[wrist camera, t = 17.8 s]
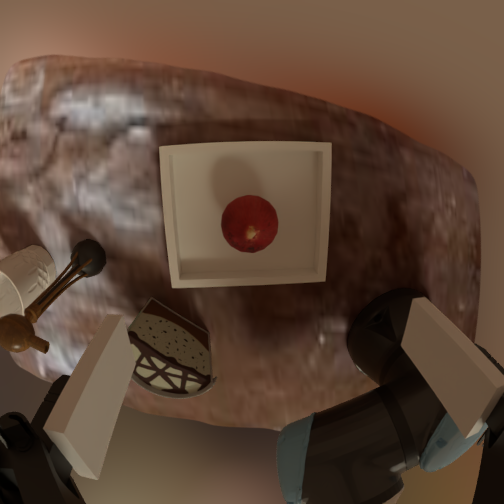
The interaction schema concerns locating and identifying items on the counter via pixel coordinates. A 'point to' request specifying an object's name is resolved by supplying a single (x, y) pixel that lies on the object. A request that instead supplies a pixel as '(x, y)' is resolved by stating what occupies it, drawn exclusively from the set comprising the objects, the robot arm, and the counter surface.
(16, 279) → the white cup
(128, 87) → the counter surface
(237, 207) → the onion
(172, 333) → the food container
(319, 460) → the robot arm
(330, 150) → the tray
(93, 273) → the wooden tabletop sculpture
